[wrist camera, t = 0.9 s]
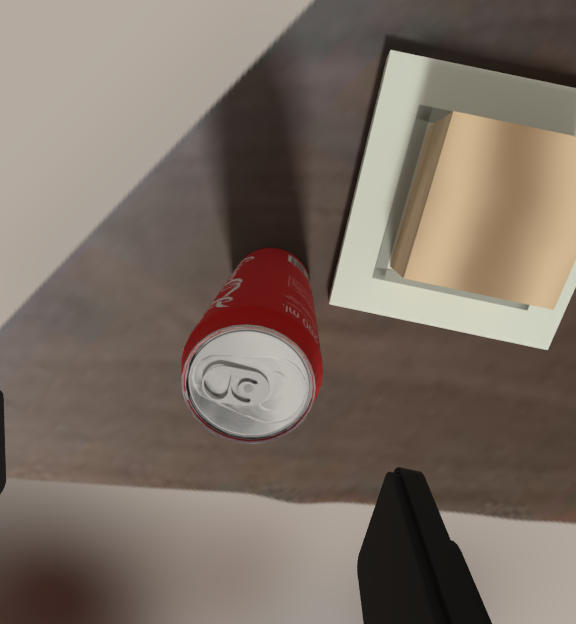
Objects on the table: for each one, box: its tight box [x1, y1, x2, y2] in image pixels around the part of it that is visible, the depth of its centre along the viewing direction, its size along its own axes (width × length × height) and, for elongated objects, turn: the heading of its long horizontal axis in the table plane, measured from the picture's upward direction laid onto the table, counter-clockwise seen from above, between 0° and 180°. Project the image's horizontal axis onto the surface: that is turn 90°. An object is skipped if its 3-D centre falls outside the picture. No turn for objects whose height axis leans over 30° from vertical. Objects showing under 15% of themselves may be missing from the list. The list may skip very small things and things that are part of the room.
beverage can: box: [181, 248, 323, 444], centre depth 21 cm, size 6×6×15 cm
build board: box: [329, 50, 576, 350], centre depth 25 cm, size 16×16×1 cm
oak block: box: [390, 111, 576, 310], centre depth 22 cm, size 9×9×4 cm
